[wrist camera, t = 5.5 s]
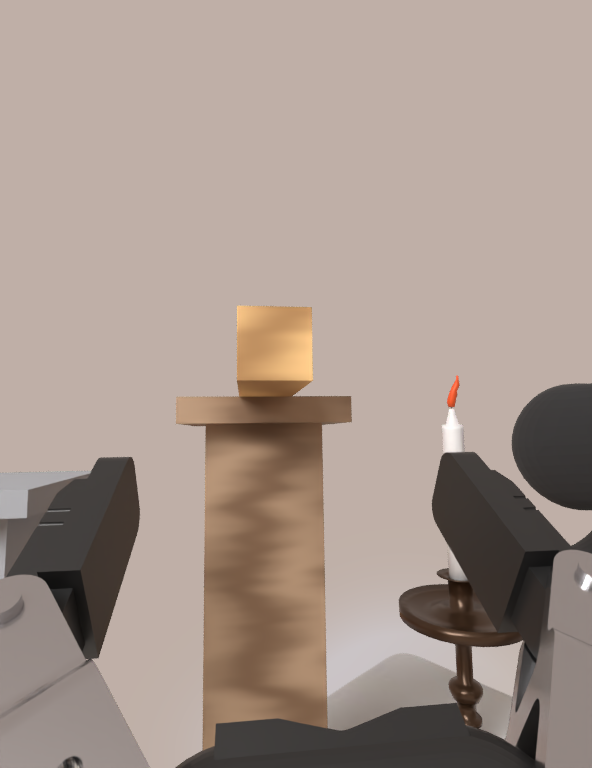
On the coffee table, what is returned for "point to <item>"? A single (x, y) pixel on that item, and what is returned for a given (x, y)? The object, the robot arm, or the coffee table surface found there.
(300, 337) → the ochre bar
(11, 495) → the short pillar
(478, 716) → the candlestick
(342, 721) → the coffee table surface
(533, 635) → the robot arm
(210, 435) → the tall pillar
